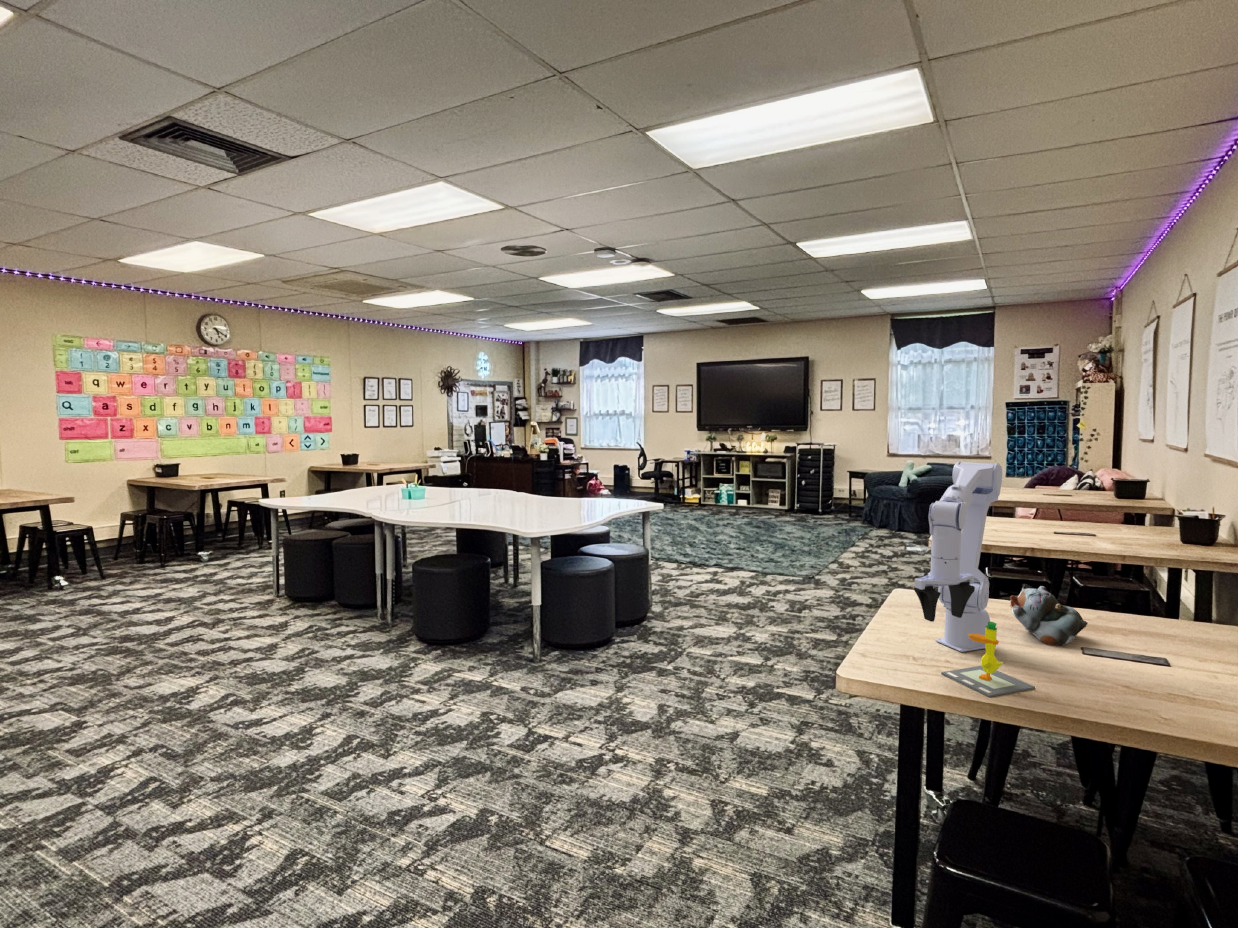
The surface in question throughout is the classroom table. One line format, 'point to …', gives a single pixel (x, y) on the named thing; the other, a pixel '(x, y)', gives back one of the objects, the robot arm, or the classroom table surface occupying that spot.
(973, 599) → the robot arm
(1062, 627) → the lucky cat figurine
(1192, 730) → the classroom table surface
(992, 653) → the toy figure
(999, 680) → the display panel
